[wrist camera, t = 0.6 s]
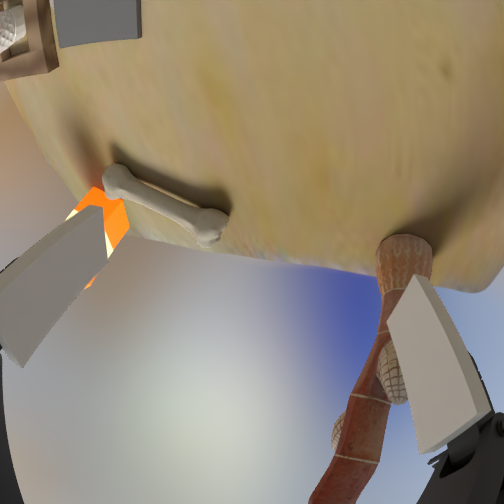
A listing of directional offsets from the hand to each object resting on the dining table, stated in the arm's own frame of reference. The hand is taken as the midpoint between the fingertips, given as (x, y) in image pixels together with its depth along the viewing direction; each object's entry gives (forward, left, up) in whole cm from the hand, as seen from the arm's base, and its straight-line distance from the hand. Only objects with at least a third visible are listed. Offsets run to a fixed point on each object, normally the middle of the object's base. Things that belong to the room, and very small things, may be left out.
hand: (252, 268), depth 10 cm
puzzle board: (-10, -44, -17) cm, 48 cm away
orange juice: (+30, -32, -17) cm, 47 cm away
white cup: (-10, -44, -17) cm, 48 cm away
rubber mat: (-10, -25, -17) cm, 32 cm away
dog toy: (+20, -17, -17) cm, 31 cm away
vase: (+15, +15, -17) cm, 27 cm away
